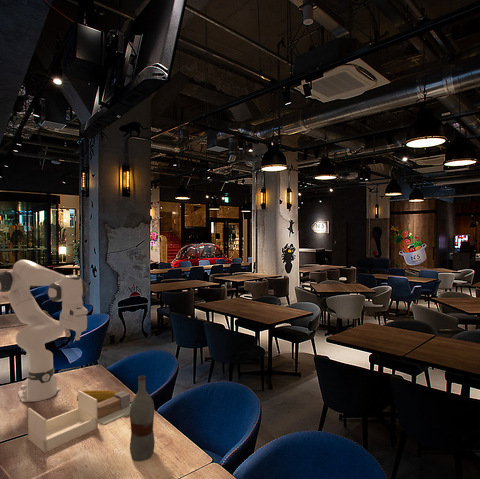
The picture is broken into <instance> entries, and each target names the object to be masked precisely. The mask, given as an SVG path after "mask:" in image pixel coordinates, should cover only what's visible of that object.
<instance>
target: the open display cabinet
mask: <svg viewBox="0 0 480 479" xmlns="http://www.w3.org/2000/svg"><path fill="white" fill-rule="evenodd" d="M77 395H78V401H77V408H74V409H72V410H69V411H67V412H64V413H62V414H60V415H57V416H54V417H51V418H49V419H46V418H45V417H43V416H42V415H41V414H39V413H38V412H37V411H35V410H33V408H31V407H28V408H27V414H28V415H27V418H28V419H27V420H28V427H27V439H28V440H29V441H30V442H31V443H33V445H35V446H36V447H37V448H38V449H40V450H41V451H42V452H43V453H46V452H49V451H51V450H53V449H55V448H58V447H59V446H62V445H64V444H66V443H68V442H70V441H73V440H74V439H76V438H79V437H81V436H83V435H86V434H88V433H90V432H92V431H94V430H97V429H98V428H99V422H98V418H97V403H98V402H97V399H95V398H93V397H91V396H89V395H87V394H85V393H83V392H82V391H81V390H77Z"/></svg>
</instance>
